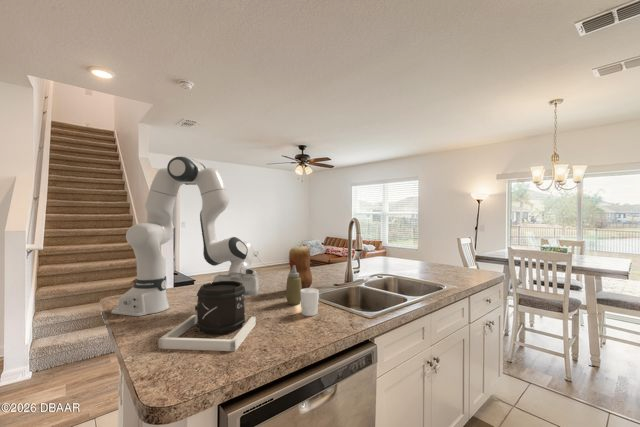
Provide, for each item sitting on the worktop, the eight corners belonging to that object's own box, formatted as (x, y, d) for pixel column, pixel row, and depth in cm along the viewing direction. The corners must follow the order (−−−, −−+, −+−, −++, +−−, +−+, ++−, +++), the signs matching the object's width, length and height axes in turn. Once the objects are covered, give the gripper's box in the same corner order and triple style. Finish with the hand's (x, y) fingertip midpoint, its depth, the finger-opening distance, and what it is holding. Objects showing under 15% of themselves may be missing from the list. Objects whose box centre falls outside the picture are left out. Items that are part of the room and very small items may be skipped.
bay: (158, 348, 96) (158, 339, 96) (193, 322, 118) (193, 314, 118) (235, 351, 94) (235, 341, 94) (255, 324, 116) (255, 316, 116)
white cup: (321, 312, 131) (321, 289, 131) (313, 317, 124) (313, 293, 124) (305, 309, 134) (305, 287, 134) (297, 315, 127) (297, 291, 127)
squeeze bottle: (305, 303, 144) (306, 265, 144) (293, 306, 138) (293, 267, 138) (294, 299, 149) (294, 263, 149) (281, 303, 143) (282, 265, 143)
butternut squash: (282, 291, 165) (282, 245, 165) (301, 287, 174) (301, 244, 174) (298, 296, 155) (299, 248, 155) (317, 291, 164) (317, 246, 164)
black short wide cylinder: (198, 320, 121) (198, 281, 120) (244, 316, 125) (244, 278, 125) (191, 338, 103) (191, 293, 103) (245, 333, 108) (245, 289, 108)
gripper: (213, 270, 131) (203, 299, 121) (259, 271, 130) (252, 300, 120) (217, 278, 136) (207, 307, 126) (261, 279, 134) (255, 307, 124)
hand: (230, 303), depth 123 cm, fingers closed, pressing on black short wide cylinder
